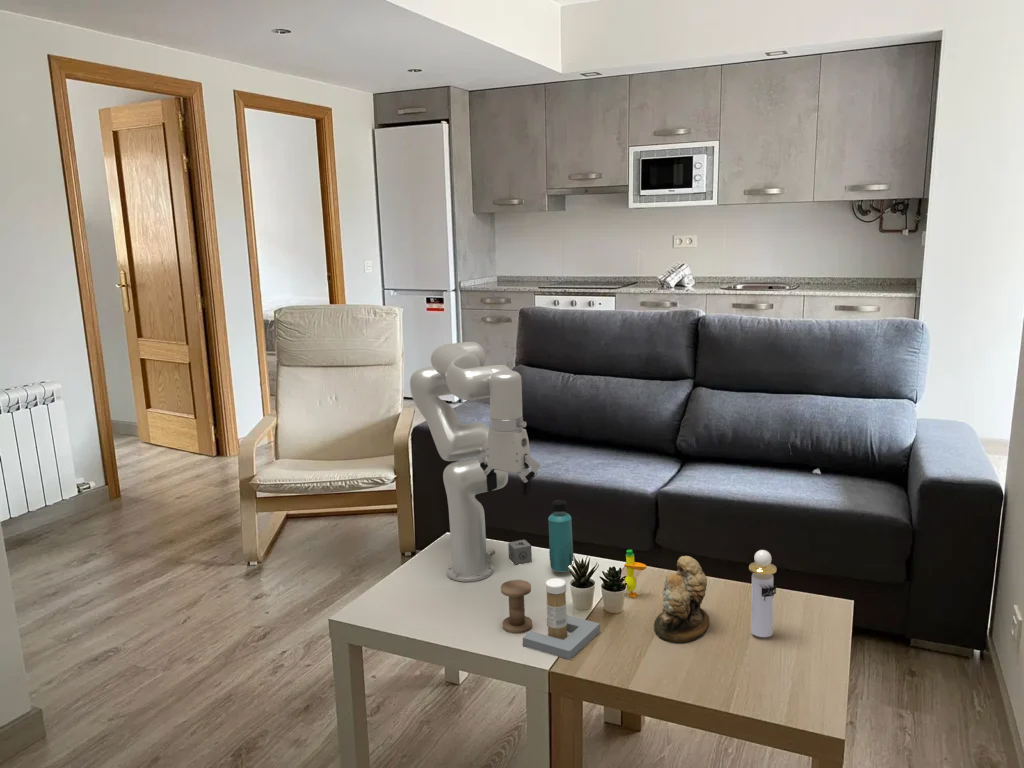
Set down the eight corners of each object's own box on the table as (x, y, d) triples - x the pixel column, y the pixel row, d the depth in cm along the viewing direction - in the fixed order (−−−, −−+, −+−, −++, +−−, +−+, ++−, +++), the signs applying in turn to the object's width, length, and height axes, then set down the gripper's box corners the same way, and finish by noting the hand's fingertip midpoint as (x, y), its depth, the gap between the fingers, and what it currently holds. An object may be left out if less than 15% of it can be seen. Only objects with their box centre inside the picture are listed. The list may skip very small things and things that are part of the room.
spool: (513, 616, 189) (511, 577, 188) (538, 623, 186) (536, 583, 184) (496, 629, 184) (494, 588, 182) (522, 636, 180) (520, 595, 178)
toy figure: (648, 595, 197) (648, 550, 195) (644, 601, 194) (643, 555, 192) (623, 591, 200) (622, 546, 198) (618, 597, 197) (617, 551, 195)
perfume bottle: (742, 633, 177) (743, 549, 173) (761, 626, 180) (763, 543, 176) (761, 644, 172) (762, 557, 168) (780, 637, 175) (782, 552, 171)
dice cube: (531, 562, 221) (531, 545, 220) (515, 565, 219) (514, 548, 218) (525, 556, 225) (524, 539, 224) (508, 559, 224) (508, 542, 223)
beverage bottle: (572, 578, 209) (570, 506, 206) (547, 576, 211) (545, 505, 207) (575, 567, 216) (573, 497, 212) (551, 566, 217) (549, 497, 213)
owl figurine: (667, 604, 192) (668, 538, 189) (716, 613, 187) (717, 545, 184) (645, 638, 177) (645, 566, 174) (698, 649, 171) (698, 575, 168)
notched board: (554, 619, 187) (554, 611, 187) (600, 631, 180) (599, 623, 180) (522, 645, 176) (522, 637, 175) (569, 659, 169) (569, 651, 169)
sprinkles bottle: (565, 631, 181) (564, 576, 179) (569, 641, 177) (567, 585, 174) (546, 633, 181) (544, 578, 178) (548, 643, 176) (546, 587, 174)
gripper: (546, 424, 183) (548, 494, 186) (485, 416, 192) (488, 482, 196) (529, 432, 177) (531, 504, 180) (467, 423, 186) (470, 491, 190)
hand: (508, 493), depth 188 cm, fingers open, 9 cm apart
